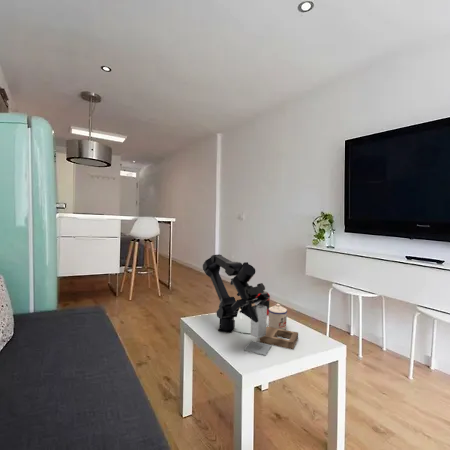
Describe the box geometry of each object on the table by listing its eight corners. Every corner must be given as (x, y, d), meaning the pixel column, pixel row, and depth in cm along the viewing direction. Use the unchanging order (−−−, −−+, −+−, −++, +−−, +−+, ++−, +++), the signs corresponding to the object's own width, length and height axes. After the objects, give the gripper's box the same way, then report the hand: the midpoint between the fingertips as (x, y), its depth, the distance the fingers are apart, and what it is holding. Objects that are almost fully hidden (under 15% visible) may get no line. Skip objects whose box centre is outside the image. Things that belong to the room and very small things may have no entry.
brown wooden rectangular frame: (259, 342, 125) (259, 335, 125) (266, 332, 135) (267, 326, 135) (293, 349, 119) (293, 342, 119) (298, 339, 129) (298, 332, 128)
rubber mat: (243, 350, 117) (244, 349, 117) (251, 341, 125) (251, 340, 125) (265, 356, 113) (265, 354, 113) (271, 346, 121) (271, 345, 121)
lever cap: (250, 335, 118) (251, 306, 118) (258, 331, 122) (259, 304, 121) (257, 338, 115) (259, 309, 115) (265, 335, 119) (267, 306, 118)
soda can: (252, 313, 160) (253, 292, 159) (260, 310, 165) (261, 289, 165) (263, 317, 155) (264, 295, 154) (271, 313, 160) (272, 292, 160)
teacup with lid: (281, 332, 135) (282, 308, 134) (264, 327, 140) (265, 304, 140) (292, 325, 144) (293, 302, 144) (276, 320, 150) (276, 298, 149)
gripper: (237, 280, 114) (257, 316, 106) (267, 274, 127) (287, 305, 119) (223, 295, 120) (241, 329, 113) (253, 288, 133) (271, 318, 125)
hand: (261, 320), depth 117 cm, fingers closed on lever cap, 5 cm apart
